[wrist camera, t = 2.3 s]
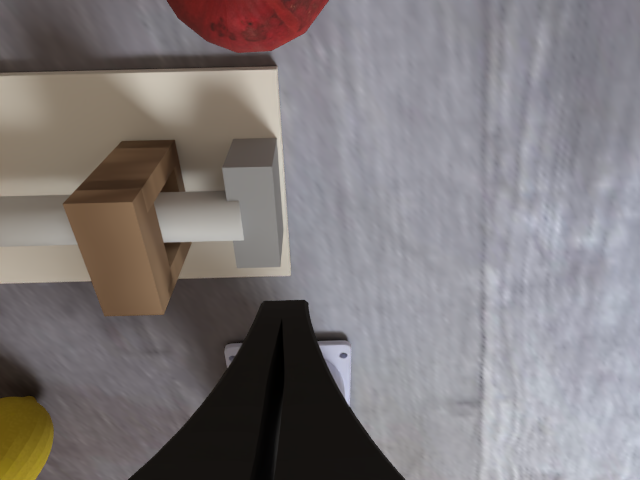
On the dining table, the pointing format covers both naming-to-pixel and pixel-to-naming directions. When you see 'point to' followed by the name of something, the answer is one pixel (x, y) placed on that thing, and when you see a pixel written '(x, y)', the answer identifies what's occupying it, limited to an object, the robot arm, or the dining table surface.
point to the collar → (129, 228)
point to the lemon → (23, 438)
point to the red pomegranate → (248, 21)
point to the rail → (138, 125)
